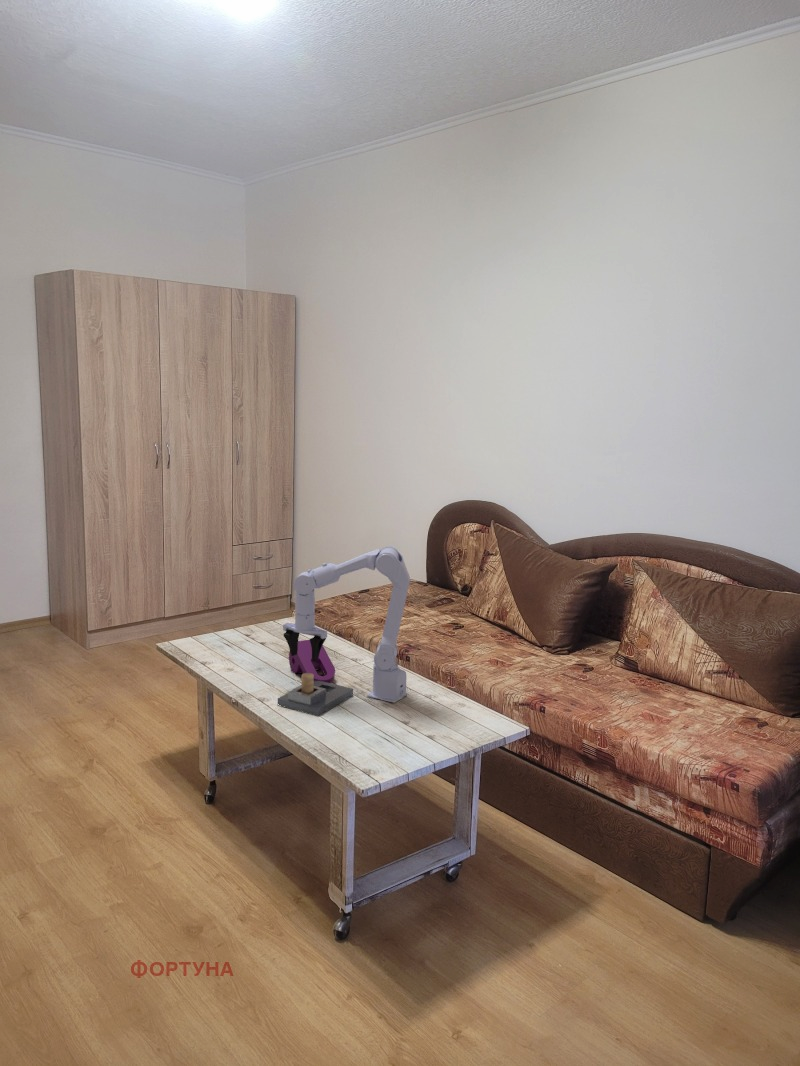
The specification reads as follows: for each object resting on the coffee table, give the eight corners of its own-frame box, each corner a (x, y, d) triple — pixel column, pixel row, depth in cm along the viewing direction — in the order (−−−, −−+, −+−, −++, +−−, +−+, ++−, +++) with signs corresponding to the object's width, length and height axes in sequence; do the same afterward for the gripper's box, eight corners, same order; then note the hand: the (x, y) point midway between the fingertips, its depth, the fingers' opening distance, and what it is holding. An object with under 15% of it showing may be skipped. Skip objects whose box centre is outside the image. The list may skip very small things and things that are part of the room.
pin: (314, 703, 230) (315, 673, 228) (311, 707, 227) (311, 677, 225) (303, 702, 231) (303, 672, 229) (299, 706, 227) (299, 676, 226)
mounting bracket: (334, 697, 250) (314, 657, 262) (339, 677, 245) (319, 638, 258) (306, 702, 245) (287, 661, 258) (311, 682, 241) (291, 641, 253)
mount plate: (353, 695, 237) (353, 680, 236) (318, 715, 221) (318, 700, 221) (313, 685, 244) (314, 671, 243) (277, 705, 228) (277, 690, 227)
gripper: (333, 613, 235) (332, 658, 237) (292, 606, 242) (292, 649, 244) (319, 619, 229) (319, 665, 231) (278, 611, 236) (278, 655, 238)
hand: (304, 657), depth 237 cm, fingers open, 7 cm apart
